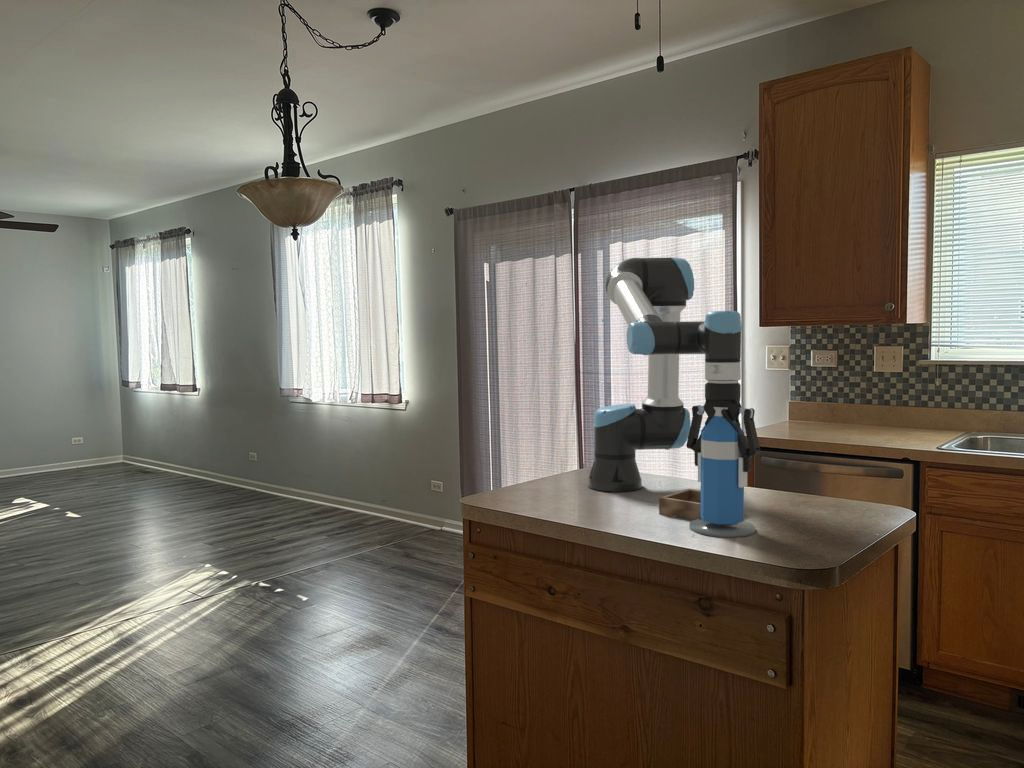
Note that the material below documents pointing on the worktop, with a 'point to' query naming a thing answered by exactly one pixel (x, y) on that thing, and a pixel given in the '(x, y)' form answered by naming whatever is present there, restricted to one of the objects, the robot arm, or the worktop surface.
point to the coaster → (722, 529)
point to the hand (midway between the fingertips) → (722, 483)
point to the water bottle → (720, 472)
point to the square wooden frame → (682, 504)
